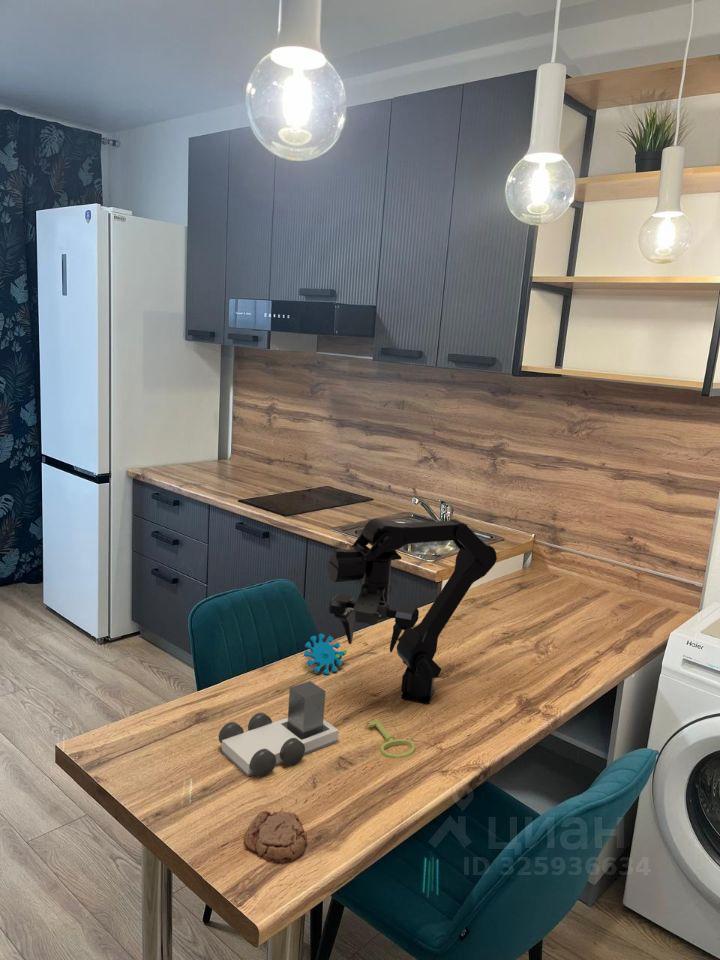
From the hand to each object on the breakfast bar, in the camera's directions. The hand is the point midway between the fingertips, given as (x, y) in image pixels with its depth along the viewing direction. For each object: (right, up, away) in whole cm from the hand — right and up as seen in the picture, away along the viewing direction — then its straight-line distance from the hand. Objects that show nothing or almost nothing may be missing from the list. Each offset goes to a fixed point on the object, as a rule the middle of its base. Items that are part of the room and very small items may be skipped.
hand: (370, 647), depth 158 cm
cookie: (-15, -21, -42) cm, 50 cm away
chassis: (-18, -15, -17) cm, 29 cm away
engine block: (-13, -14, -13) cm, 24 cm away
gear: (-11, -9, +18) cm, 23 cm away
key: (+4, -17, -12) cm, 21 cm away
